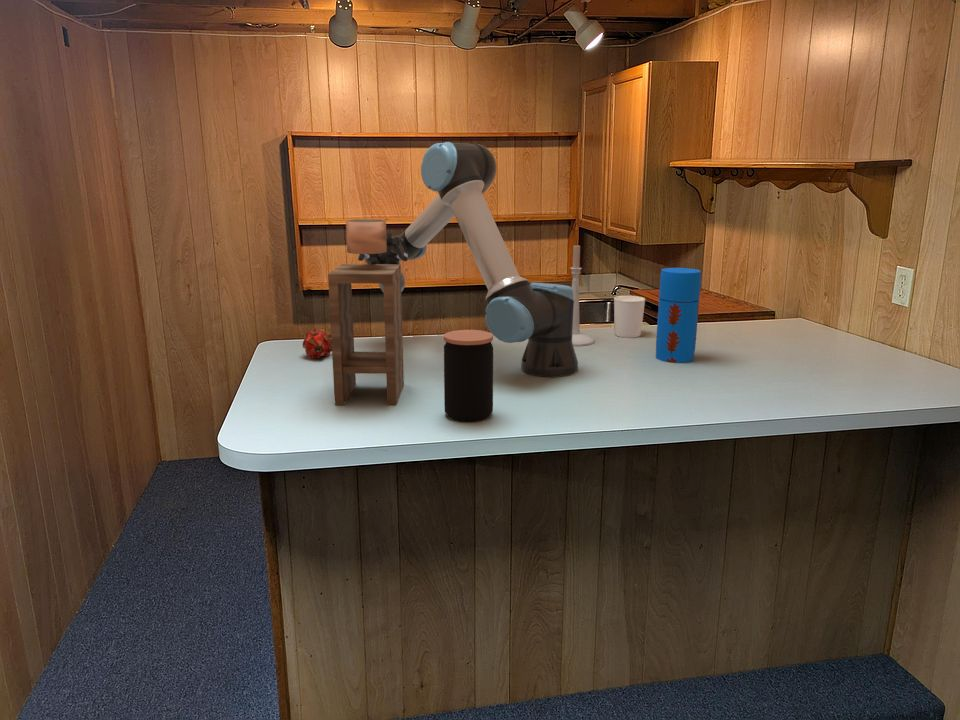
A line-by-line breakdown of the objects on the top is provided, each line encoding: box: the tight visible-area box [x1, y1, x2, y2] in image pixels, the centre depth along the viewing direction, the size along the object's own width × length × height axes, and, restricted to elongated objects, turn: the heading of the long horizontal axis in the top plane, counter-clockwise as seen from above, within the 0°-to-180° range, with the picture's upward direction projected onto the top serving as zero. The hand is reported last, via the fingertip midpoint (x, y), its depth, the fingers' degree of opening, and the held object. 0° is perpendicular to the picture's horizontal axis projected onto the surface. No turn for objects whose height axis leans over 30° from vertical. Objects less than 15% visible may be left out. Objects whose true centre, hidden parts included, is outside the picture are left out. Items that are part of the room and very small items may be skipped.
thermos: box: [655, 267, 702, 364], centre depth 202 cm, size 11×11×25 cm
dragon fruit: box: [302, 328, 332, 360], centre depth 206 cm, size 8×8×12 cm
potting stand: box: [327, 263, 405, 406], centre depth 169 cm, size 16×14×30 cm
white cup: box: [613, 295, 646, 339], centre depth 232 cm, size 10×10×12 cm
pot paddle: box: [345, 218, 387, 255], centre depth 173 cm, size 26×9×7 cm, turn 0°
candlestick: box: [569, 245, 595, 347], centre depth 221 cm, size 13×13×30 cm
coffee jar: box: [443, 329, 494, 423], centre depth 156 cm, size 11×11×18 cm
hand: (373, 229), depth 176 cm, fingers closed on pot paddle, 3 cm apart
